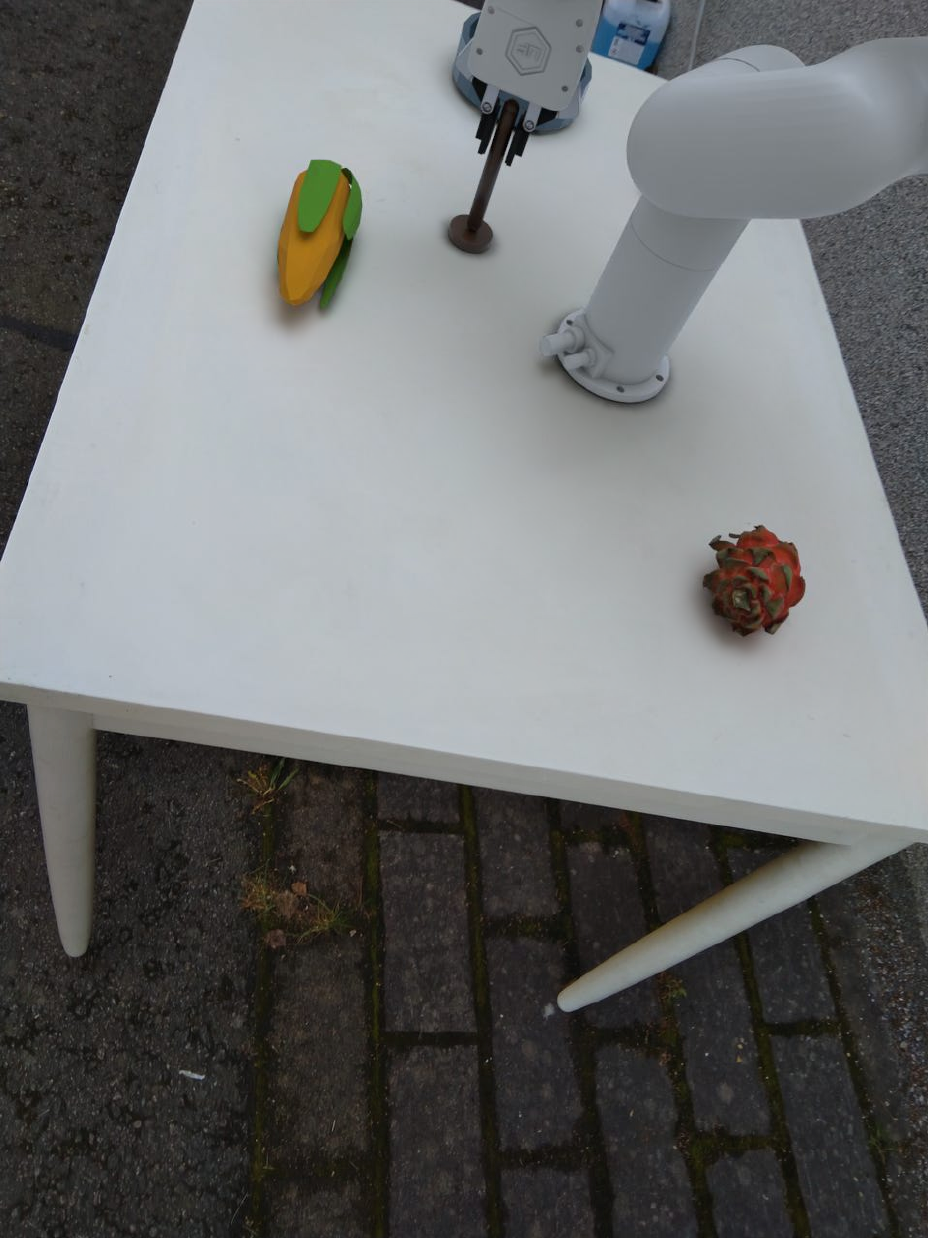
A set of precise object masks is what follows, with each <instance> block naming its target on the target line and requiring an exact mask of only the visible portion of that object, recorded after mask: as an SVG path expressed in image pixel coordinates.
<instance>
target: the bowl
mask: <svg viewBox="0 0 928 1238" xmlns="http://www.w3.org/2000/svg"><path fill="white" fill-rule="evenodd" d="M481 12H482V10H481V11H478V12H474V13H472V14H471V15H469V17H467V18H466V20H465V21H463V24H462V28H461V31H460V35H459V39H458V43H457V48H456V51H455V54H454V59H453V64H452V69H451V72H452V75H453V78H454V81H455V84H456V86H457V87H458V89H459V90H460V91H461V92H462V94H463V95H464V96H465V98H466V99H468V100H469V101H470V102H472V104H473V105H474V106H475V107H477V108H478V109H479V110H481V102H480V100H479V98H478V96H477V94H476V92H475V90H474V88H473V86H472V82H471V81H470V80H468V79H467V78H466V77H465V76H464V75H463V74H462V73H461V72H460V71H459V70H458V69H457V68H456V66H455V61H456V59H457V57H458V55H459V54H460V52H461V51H462V50H463V49H464V48H465V46H466V45H467V44H468V43H469V42H470V40H471V39H472V38H473V37H474V34H475V31H476V28H477V24H478V21H479V18H480V15H481ZM592 79H593V66H592V63H591V62H590V59H589V57H588V56H587V60H586V63H585V66H584V69H583V72H582V74H581V77H580V87H581V106H582V105H583V102H584V100H585V96H586V94H587V93H588V92H587V91H588V90H589V87H590V84H591V82H592ZM499 98H500V105H501V108H500V111H499V115H498V118H497V121H499V118H500V115H501V111H502V108H503V105H504V102H505V101H506V100H507V99H508V98H515V99H517V100H518V101H519V104H520V110H519V113H518V116H517V119H516V122H515V125H514V128H516V127H517V124H518V122H519V119H520V117H521V114H522V115H523V114H524V111H525V110H527V109H528V106H529V103H530V102H529V101H526V100H524V99H522V98H519V97H517V96H514V95H512V94H510V93H507V92H505V91H503V90H501V91H500V94H499ZM575 119H576V118H572V119H559V118H555V119H553V120H551V121H549V122H546V123H544V124H542V125H539V126H537V127H535V129H534V130H533V131H550V130H560V129H562V128H565V127H566V126H568V125H570V124H572V123H573V122H574V120H575Z"/></svg>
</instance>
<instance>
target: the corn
mask: <svg viewBox="0 0 928 1238" xmlns="http://www.w3.org/2000/svg"><path fill="white" fill-rule="evenodd" d="M362 213H363V195H362V189H361V186H360V184H359V182H358V180H357V178H356V176H355V175H354V173H353V172H352V171H351V170H350V169H349V168H348V167H344V168H343V166H342V164H339V163H337V162H335V161H333V160H331V159H310V162H309V164H308V167H307V169H306V170H303V171H302V172H299V173H298V175H297V177H296V179H295V181H294V184H293V187H292V190H291V194H290V197H289V201H288V205H287V208H286V212H285V215H284V220H283V223H282V226H281V230H280V233H279V238H278V242H277V255H276V259H277V264H278V283H279V285H278V286H279V294H280V296H281V297H282V298H283V300H284V302H285V303H287V304H290V305H292V306H295V307H297V306H300V305H302V304H304V303H306V302H308V301H310V300H311V298H312V297H313V296H314V294H316V292H317V291H318V289H319V288H320V287H321V286H322V284H323V283H324V287H323V290H322V291H323V292H322V294H321V295H322V296H321V299H320V307H321V308H326V307H327V306H328V303H329V302H330V300H331V298H332V297H333V295H334V293H335V292H336V289H337V288H338V286H339V284H340V282H341V280H342V279H343V277H344V273H345V269H346V267H347V265H348V261H349V259H350V255H351V251H352V246H353V241H354V237H355V235H356V233H357V230H358V229H359V227H360V224H361V218H362Z"/></svg>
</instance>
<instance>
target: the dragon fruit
mask: <svg viewBox="0 0 928 1238" xmlns="http://www.w3.org/2000/svg"><path fill="white" fill-rule="evenodd" d="M751 524H752V523H748V525H751ZM753 528H755V529H753V530H750V531H749V530H744V531H742V532H741V533H740V534H739V533H738V534H737V533H732V532H729V533H728V534H727V535H728V538H730V539H737V540H736V543H735V544H734V543H733V542H730V541H729V540H721V539H722V535H721V534H718V535H716V536H715V537H714V538H712V539H711V541H710V542H709V543H708V546H709V547H710V548H711V549H712V550H713V551H716V553H715V560H716V562H717V565H718V568H717V569H714V570H711V571H710V572H709V573H706V574H704V575H703V577H702V581H701V582H702V584H701V585H702V588H703V589H705V588H706V589H707V590H709V591H710V592H711V593H712V594H713V597H712V601H711V605H710V606H711V610H712V612H713V614H714V615H715V616H718V617H721V618H722V619H726V620H728V621H730V623H731V629H732V632H733V633H736V634H737V635H739V636H741V637H743V638H745V637H748V636H749V635H751V634H754V633H756V632H757V631H758V630H759V629H760V628H761V627H762V628H763V631H764V633H767V634H769V635H771V636H774V635H775V634H776V633H777V631H778V630H779V629H780V628H781V627H782V625H783V624H784V623H785V622H786V620H787V619H788V617H789V616H790V609H791V608H794V607H795V606H797V605H798V604H799V603H800V602H801V601H802V599H803V598H804V597H805V594H806V589H807V588H806V586H807V585H806V584H807V583H806V579H805V578H804V577H803V575H801V572H802V566H801V562H800V556H799V552H798V548H797V547H796V545H795V543H794V542H792V541H790V542H788V541H783V540H780V539H779V538H778V536H777V534H776V533H775V532H772V531H771V530H769V529H768V528H766V526H764V525H763V524H758V525H753Z"/></svg>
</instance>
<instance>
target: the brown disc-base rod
mask: <svg viewBox="0 0 928 1238" xmlns="http://www.w3.org/2000/svg"><path fill="white" fill-rule="evenodd" d="M519 110H520V104H519V101H518V100H517V99H515V98H508V99H507V100H506V101H505V102H504V105H503V108H502V111H501V115H500V118H499V120H497V123H496V126H495V127H496V128H495V129H494V134H493V137H492V139H491V140H492V141H491V142H490V146H489V149H488V153H487V156H486V159H485V162H484V164H483V165H484V166H483V169H482V171H481V175H480V178H479V182H478V184H477V188H476V191H475V194H474V197H473V199H472V204H471V207H470V210H469V213H467V214H464V213H463V214H458V215H455V216H454V217H453V218H452V219H451V221H450V224H449V228H448V230H447V232H448V233H447V235H448V238H449V240H450V242H451V243H452V244H453V245H454V246H455V247H456V248H458V249H460V250H462V251H463V252H467V253H470V254H481V253H482V254H483V253H484V252H486V251H487V250H488V249H490V247H491V244H492V241H493V239H494V232H493V229H492V227H491V226H490V224H489V223H488V222H486V220H484V218H485V215H486V212H487V209H488V206H489V203H490V200H491V197H492V195H493V192H494V189H495V185H496V183H497V179H498V176H499V173H500V170H501V167H502V165H503V161H504V158H505V156H506V152H507V149H508V146H509V143H510V140H511V137H512V134H513V131H514V128H515V126H514V125H515V122H516V119H517V116H518V113H519Z"/></svg>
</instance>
